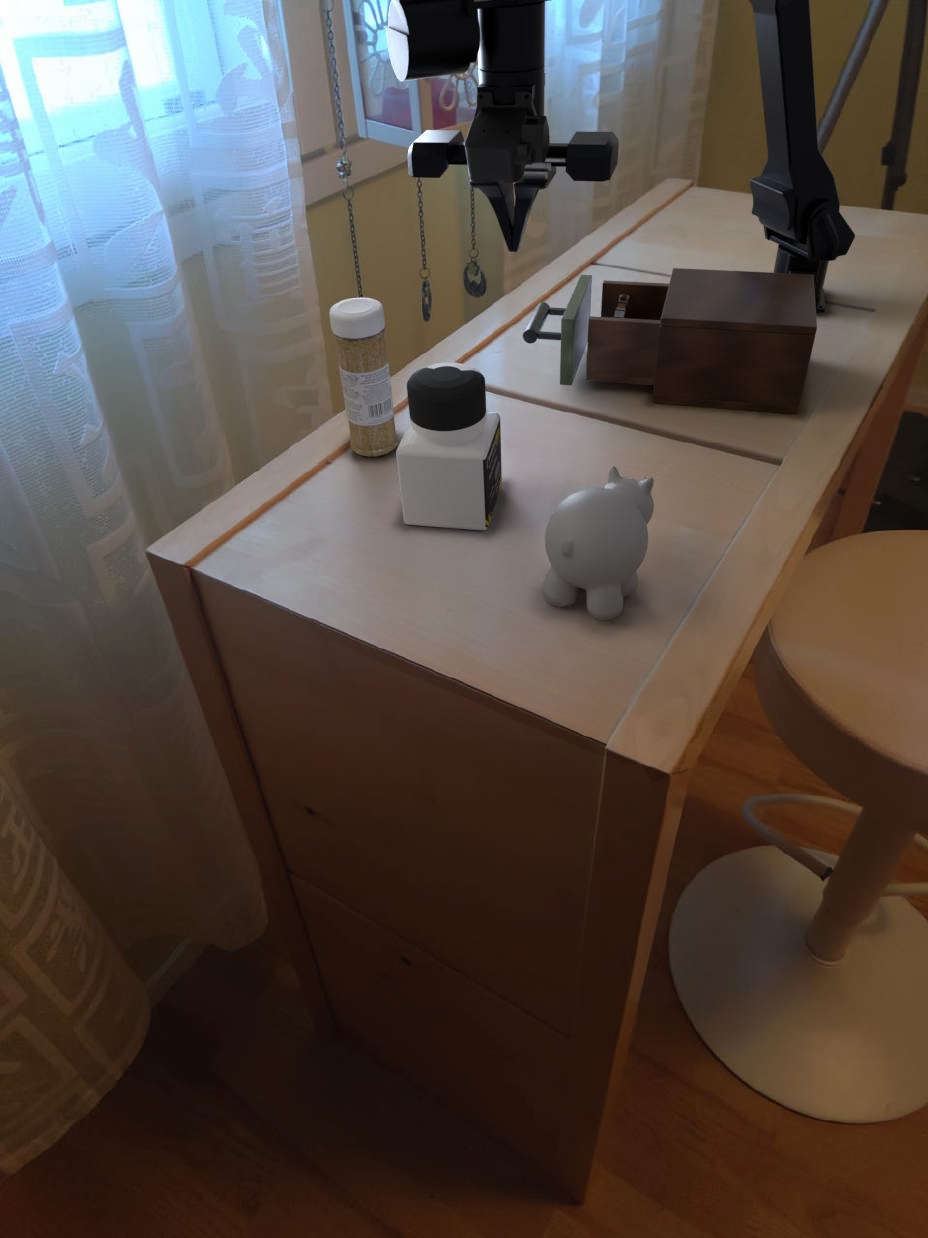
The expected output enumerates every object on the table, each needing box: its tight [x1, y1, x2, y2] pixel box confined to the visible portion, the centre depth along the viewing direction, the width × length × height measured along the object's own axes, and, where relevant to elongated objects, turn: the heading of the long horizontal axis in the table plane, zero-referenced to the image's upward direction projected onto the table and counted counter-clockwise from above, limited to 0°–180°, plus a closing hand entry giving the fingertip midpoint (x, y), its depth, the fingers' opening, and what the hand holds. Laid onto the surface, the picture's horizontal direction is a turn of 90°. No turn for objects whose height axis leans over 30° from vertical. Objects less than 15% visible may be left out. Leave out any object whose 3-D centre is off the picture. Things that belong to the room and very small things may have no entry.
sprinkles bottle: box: [329, 297, 399, 458], centre depth 79 cm, size 5×5×14 cm
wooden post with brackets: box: [614, 294, 629, 318], centre depth 89 cm, size 2×8×4 cm, turn 166°
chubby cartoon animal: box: [541, 465, 655, 621], centre depth 64 cm, size 7×12×8 cm, turn 146°
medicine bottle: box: [395, 361, 503, 532], centre depth 71 cm, size 7×7×12 cm
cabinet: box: [652, 267, 818, 415], centre depth 87 cm, size 14×13×9 cm
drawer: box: [522, 274, 669, 386], centre depth 90 cm, size 17×11×7 cm
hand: (514, 250), depth 87 cm, fingers closed
